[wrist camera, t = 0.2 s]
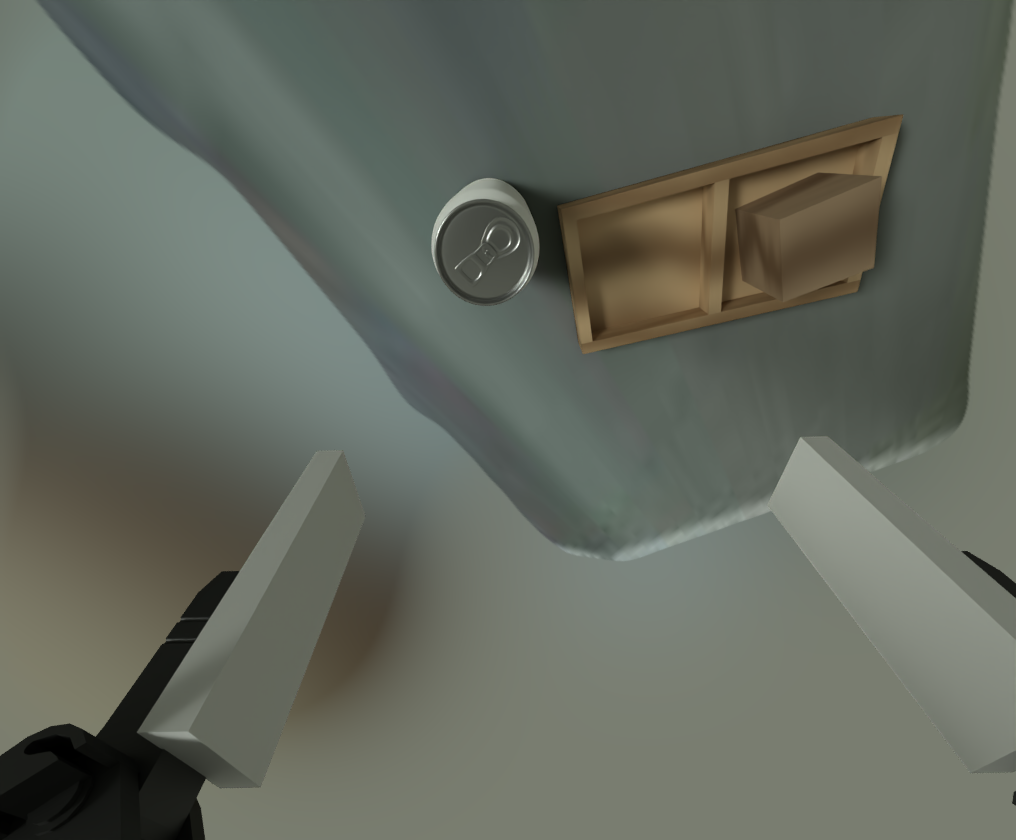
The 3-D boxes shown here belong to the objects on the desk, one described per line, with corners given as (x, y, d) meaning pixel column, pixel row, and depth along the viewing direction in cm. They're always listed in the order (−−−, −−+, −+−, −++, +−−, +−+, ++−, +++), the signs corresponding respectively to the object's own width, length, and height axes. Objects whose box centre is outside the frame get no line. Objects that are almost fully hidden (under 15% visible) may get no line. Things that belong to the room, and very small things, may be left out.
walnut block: (735, 209, 31) (779, 219, 26) (817, 172, 29) (881, 176, 24) (741, 280, 34) (783, 302, 29) (817, 250, 32) (873, 267, 27)
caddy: (557, 205, 31) (561, 209, 29) (872, 117, 28) (903, 114, 26) (578, 342, 38) (583, 354, 35) (835, 283, 35) (857, 291, 32)
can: (546, 225, 32) (566, 257, 22) (490, 281, 34) (485, 334, 24) (489, 156, 29) (483, 157, 19) (434, 223, 32) (402, 255, 22)
